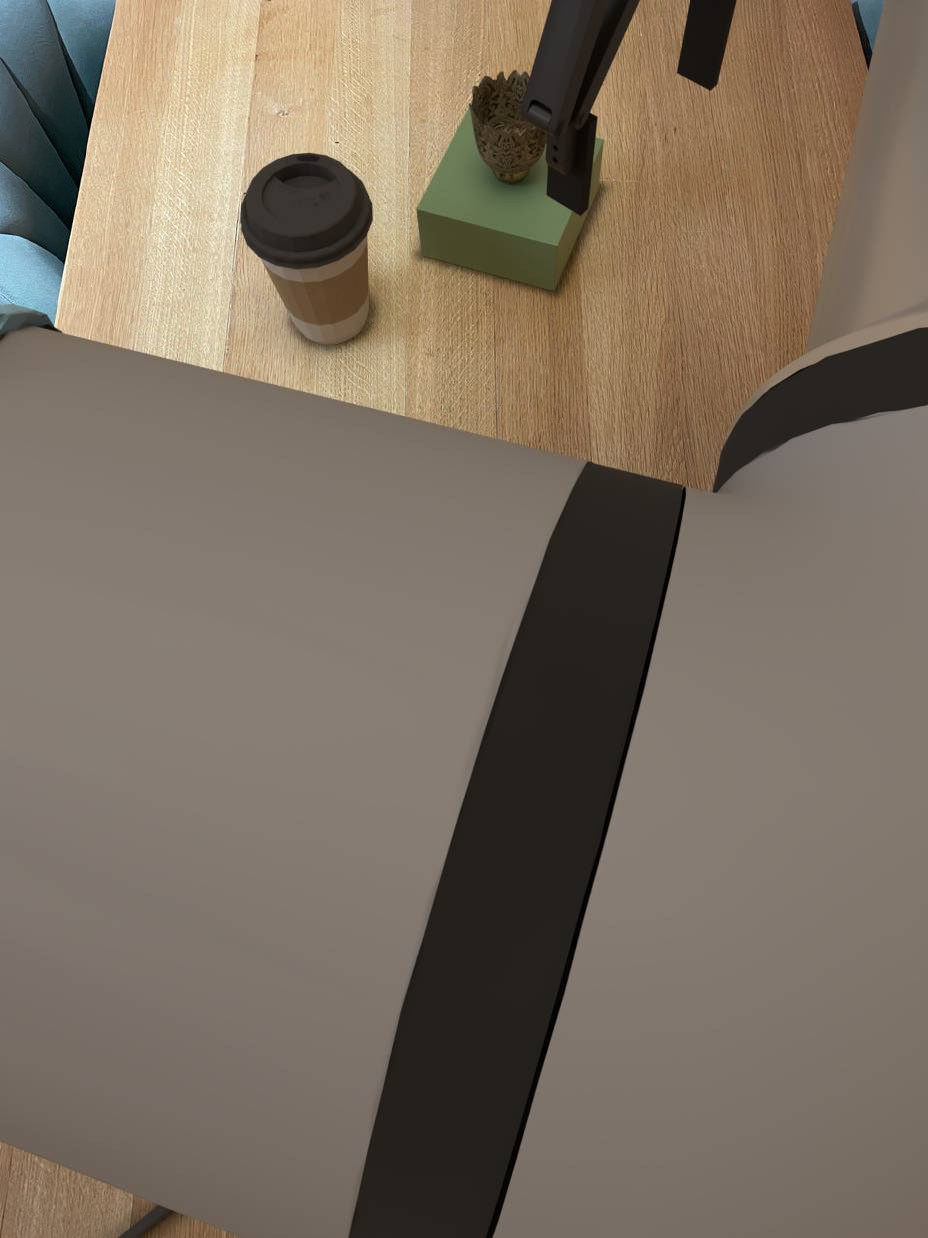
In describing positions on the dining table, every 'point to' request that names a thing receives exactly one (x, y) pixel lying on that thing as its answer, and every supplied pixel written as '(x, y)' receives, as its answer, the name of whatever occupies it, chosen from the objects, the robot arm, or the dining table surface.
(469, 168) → the green block
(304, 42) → the dining table surface
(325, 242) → the coffee cup
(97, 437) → the robot arm
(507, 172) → the cup
